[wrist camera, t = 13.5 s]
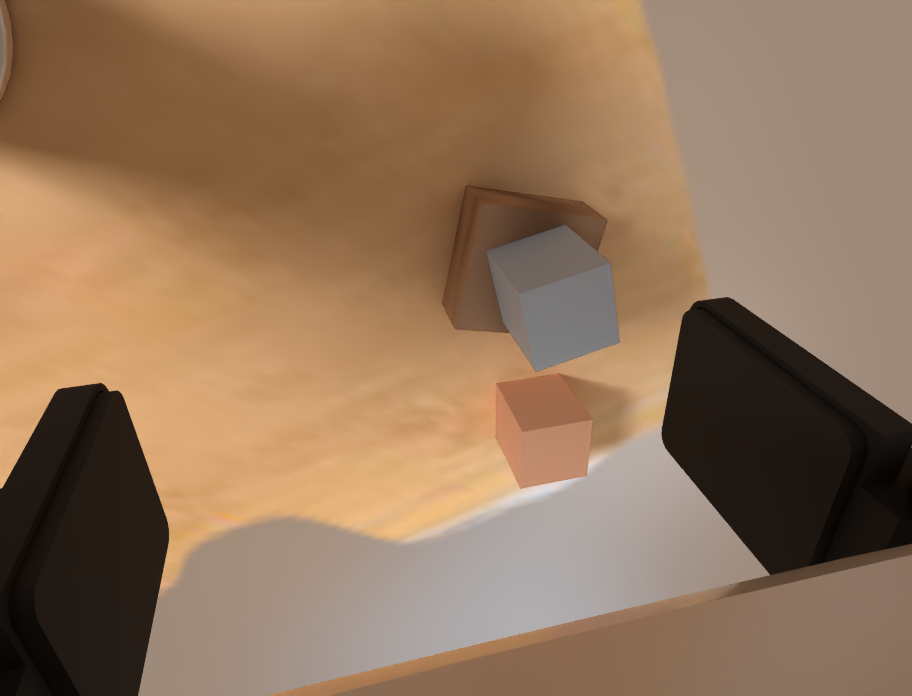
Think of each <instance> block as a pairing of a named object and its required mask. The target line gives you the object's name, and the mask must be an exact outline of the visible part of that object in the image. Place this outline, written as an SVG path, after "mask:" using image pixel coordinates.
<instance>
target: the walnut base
mask: <svg viewBox="0 0 912 696" xmlns="http://www.w3.org/2000/svg"><path fill="white" fill-rule="evenodd" d="M606 223H607V219H605V218H604V217H603V216H601V215H600V214H599V213H597V212H596V211H595V210H593V209H592V208H590V207H589V206H588V205H586V204H585V203H584V202H580V201H573V200H566V199H559V198H551V197H544V196H537V195H530V194H523V193H515V192H508V191H501V190H494V189H486V188H479V187H472V186H466V188H465V193H464V198H463V203H462V208H461V213H460V218H459V223H458V228H457V233H456V238H455V243H454V248H453V253H452V258H451V263H450V268H449V273H448V278H447V283H446V287H445V292H444V297H443V302H442V304H443V306H444V308H445V310H446V312H447V314H448V316H449V318H450V320H451V322H452V324H453V326H454V328H455V329H459V330H474V331H489V332H504V333H510V332H509V331H508V329H507V328H506V326H505V324H504V323H503V320H502V316H501V312H500V308H499V303H498V299H497V295H496V291H495V286H494V282H493V278H492V274H491V269H490V265H489V261H488V257H487V252H486V251H488V250H491V249H494V248H497V247H500V246H503V245H506V244H509V243H512V242H515V241H518V240H521V239H524V238H527V237H530V236H533V235H536V234H539V233H542V232H545V231H548V230H551V229H554V228H557V227H560V226H563V225H567V226H568V227H569V228H570V229H571V230H572V231H574V232H575V233H576V234H577V235H578V236H580V237H581V238H582V239H583V240H584V241H585V242H587V243H588V244H589V245H590V246H591V247H592V248H594V249H595V250H596V251H597V252H598V249H599V246H600V242H601V239H602V236H603V233H604V230H605V227H606Z"/></svg>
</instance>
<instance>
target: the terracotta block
mask: <svg viewBox="0 0 912 696" xmlns="http://www.w3.org/2000/svg"><path fill="white" fill-rule="evenodd" d="M592 424H593V419H592V418H591V416H590V415H589V414H588V412H587V411H586V409H585V408H584V407H583V405H582V404H581V402H580V401H579V400H578V398H577V397H576V395H575V394H574V393H573V391H572V390H571V388H570V387H569V386H568V384H567V383H566V382H565V380H564V379H563V377H562V376H561V375H560V374H554V375H548V376H541V377H535V378H529V379H522V380H516V381H509V382H503V383H497V384H496V439H497V441H498V443H499V445H500V447H501V449H502V451H503V453H504V455H505V457H506V460H507V462H508V464H509V466H510V468H511V470H512V472H513V474H514V476H515V478H516V481H517V483H518V485H519V487H520V489H521V488H526V487H531V486H536V485H542V484H547V483H552V482H557V481H562V480H568V479H573V478H578V477H583V476H587V469H588V460H589V451H590V442H591V433H592Z"/></svg>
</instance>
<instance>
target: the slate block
mask: <svg viewBox="0 0 912 696" xmlns="http://www.w3.org/2000/svg"><path fill="white" fill-rule="evenodd" d="M486 252H487V257H488V261H489V265H490V269H491V274H492V278H493V282H494V286H495V291H496V295H497V299H498V303H499V308H500V312H501V316H502V320H503V323H504V324H505V326H506V328H507V329H508V331H509V332H510V334H511V335H512V337H513V338H514V340H515V341H516V343H517V344H518V346H519V347H520V349H521V350H522V352H523V353H524V355H525V356H526V358H527V360H528V361H529V363H530V364H531V366H532V367H533V369H534V370H535V372H538V371H540V370H543V369H546V368H549V367H552V366H555V365H557V364H560V363H563V362H566V361H569V360H572V359H574V358H577V357H580V356H583V355H586V354H589V353H591V352H594V351H597V350H600V349H603V348H606V347H608V346H611V345H614V344H617V343H620V340H619V331H618V322H617V313H616V305H615V296H614V287H613V279H612V270H611V263H610V262H609V261H608V260H606V259H605V258H604V257H603V256H602V255H601V254H599V253H598V252H597V251H596V250H595V249H594V248H592V247H591V246H590V245H589V244H588V243H587V242H585V241H584V240H583V239H582V238H581V237H580V236H578V235H577V234H576V233H575V232H574V231H572V230H571V229H570V228H569V227H568V226H567V225H563V226H560V227H557V228H554V229H551V230H548V231H545V232H542V233H539V234H536V235H533V236H530V237H527V238H524V239H521V240H518V241H515V242H512V243H509V244H506V245H503V246H500V247H497V248H494V249H491V250H488V251H486Z"/></svg>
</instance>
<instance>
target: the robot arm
mask: <svg viewBox="0 0 912 696" xmlns="http://www.w3.org/2000/svg"><path fill="white" fill-rule="evenodd" d="M13 49H14V48H13V38H12V28H11V19H10V16H9V13H8V9H7V6H6V2H5V0H0V100H1V98H2V97H3V94H4V91H5V89H6V86H7V83H8V80H9V78H10V75H11V67H12V58H13ZM662 440H663V443H664V446H665V448H666V449H667V450H668V452H669V453H670V455H671V456H672V457H673V458H674V459H675V461H676V462H677V463H678V464H679V465H680V467H681V468H682V469H683V470H684V471H685V473H686V474H687V475H688V476H689V477H690V479H691V480H692V481H693V482H694V483H695V485H696V486H697V487H698V488H699V489H700V491H701V492H702V493H703V494H704V495H705V497H706V498H707V499H708V500H709V502H710V503H711V504H712V505H713V506H714V507H715V509H716V510H717V511H718V512H719V514H720V515H721V516H722V517H723V518H724V520H725V521H726V522H727V523H728V524H729V526H730V527H731V528H732V529H733V531H734V532H735V533H736V534H737V535H738V537H739V538H740V539H741V540H742V541H743V543H744V544H745V545H746V546H747V547H748V548H749V550H750V551H751V552H752V553H753V555H754V556H755V557H756V558H757V559H758V561H759V562H760V563H761V564H762V566H764V568H765V569H766V570H767V571H768V573H769V574H770V576H765V577H761V578H756V579H752V580H748V581H744V582H739V583H735V584H730V585H727V586H722V587H718V588H713V589H709V590H705V591H700V592H696V593H692V594H688V595H683V596H679V597H675V598H670V599H666V600H662V601H658V602H654V603H649V604H646V605H641V606H637V607H632V608H628V609H624V610H620V611H616V612H612V613H607V614H603V615H599V616H594V617H590V618H586V619H582V620H577V621H574V622H569V623H565V624H561V625H557V626H552V627H548V628H544V629H540V630H536V631H532V632H528V633H523V634H519V635H515V636H510V637H506V638H502V639H498V640H494V641H489V642H485V643H481V644H477V645H473V646H469V647H464V648H460V649H456V650H452V651H448V652H444V653H440V654H436V655H432V656H427V657H424V658H420V659H416V660H412V661H407V662H403V663H399V664H395V665H391V666H387V667H383V668H379V669H374V670H370V671H366V672H362V673H358V674H354V675H349V676H345V677H341V678H337V679H333V680H329V681H325V682H321V683H317V684H313V685H309V686H305V687H300V688H296V689H292V690H288V691H284V692H280V693H276V694H272V695H268V696H912V448H911V446H912V424H911V423H910V422H908V421H907V420H906V419H904V418H902V417H901V416H900V415H898V414H897V413H895V412H894V411H893V410H891V409H890V408H888V407H887V406H885V405H884V404H883V403H881V402H880V401H878V400H877V399H875V398H874V397H873V396H871V395H870V394H868V393H867V392H865V391H864V390H862V389H861V388H860V387H858V386H857V385H855V384H854V383H852V382H851V381H849V380H848V379H847V378H845V377H844V376H842V375H841V374H839V373H838V372H837V371H835V370H834V369H832V368H831V367H829V366H828V365H827V364H825V363H824V362H822V361H821V360H819V359H818V358H816V357H815V356H814V355H812V354H811V353H809V352H808V351H806V350H805V349H804V348H802V347H801V346H799V345H798V344H796V343H795V342H794V341H792V340H791V339H789V338H788V337H786V336H785V335H783V334H782V333H780V332H779V331H778V330H776V329H775V328H773V327H772V326H771V325H769V324H768V323H766V322H765V321H763V320H762V319H760V318H759V317H758V316H756V315H755V314H753V313H752V312H750V311H749V310H748V309H746V308H745V307H743V306H742V305H740V304H739V303H738V302H736V301H735V300H733V299H731V298H728V297H725V298H717V299H710V300H702V301H697V302H695V303H694V304H693V305H692V307H691V308H690V310H688V311H687V312H685V314H684V315H683V318H682V323H681V328H680V333H679V339H678V344H677V350H676V355H675V361H674V366H673V371H672V377H671V382H670V388H669V393H668V399H667V404H666V409H665V415H664V420H663V426H662ZM168 543H169V528H168V522H167V519H166V516H165V513H164V510H163V507H162V504H161V502H160V499H159V496H158V493H157V490H156V487H155V485H154V482H153V479H152V476H151V473H150V471H149V468H148V465H147V462H146V459H145V457H144V454H143V451H142V448H141V445H140V442H139V440H138V437H137V434H136V431H135V428H134V426H133V423H132V420H131V417H130V414H129V412H128V409H127V406H126V403H125V400H124V398H123V396H122V394H121V393H120V392H119V391H110V392H109V391H108V389H107V388H106V386H105V385H104V384H102V383H98V384H91V385H84V386H76V387H69V388H62V389H58V390H57V391H56V393H55V394H54V396H53V398H52V399H51V401H50V403H49V405H48V407H47V408H46V410H45V412H44V414H43V416H42V417H41V419H40V421H39V423H38V425H37V427H36V428H35V430H34V432H33V434H32V436H31V437H30V439H29V441H28V443H27V445H26V446H25V448H24V450H23V452H22V454H21V455H20V457H19V459H18V461H17V463H16V465H15V466H14V468H13V470H12V472H11V474H10V475H9V477H8V479H7V481H6V483H5V484H4V486H3V488H1V489H0V696H138V693H139V688H140V683H141V677H142V673H143V668H144V663H145V658H146V652H147V648H148V643H149V638H150V633H151V628H152V623H153V618H154V613H155V608H156V603H157V598H158V593H159V588H160V583H161V578H162V573H163V568H164V563H165V558H166V553H167V548H168Z"/></svg>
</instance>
